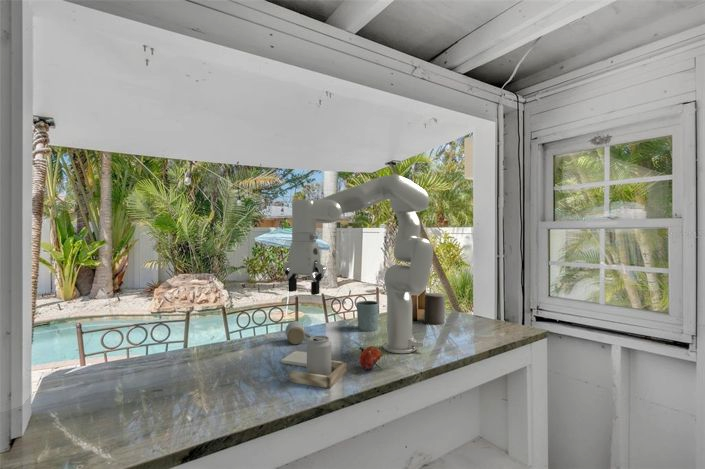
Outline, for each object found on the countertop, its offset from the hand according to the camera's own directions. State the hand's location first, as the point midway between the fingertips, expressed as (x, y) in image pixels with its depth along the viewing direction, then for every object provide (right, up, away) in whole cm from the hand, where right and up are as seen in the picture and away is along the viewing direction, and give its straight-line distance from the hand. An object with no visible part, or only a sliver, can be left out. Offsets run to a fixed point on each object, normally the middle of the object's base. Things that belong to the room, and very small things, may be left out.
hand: (303, 292), depth 117 cm
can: (+5, -25, -4) cm, 26 cm away
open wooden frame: (+5, -25, -4) cm, 26 cm away
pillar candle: (+56, -25, +63) cm, 88 cm away
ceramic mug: (-6, -25, +32) cm, 41 cm away
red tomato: (+22, -25, +3) cm, 33 cm away
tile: (-2, -25, +11) cm, 27 cm away
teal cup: (+22, -25, +51) cm, 61 cm away
